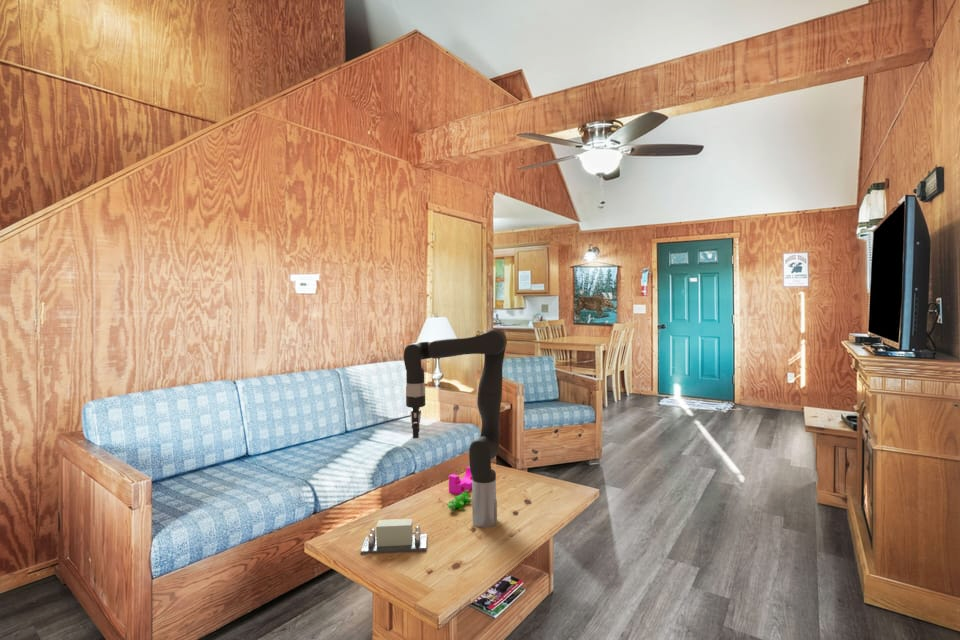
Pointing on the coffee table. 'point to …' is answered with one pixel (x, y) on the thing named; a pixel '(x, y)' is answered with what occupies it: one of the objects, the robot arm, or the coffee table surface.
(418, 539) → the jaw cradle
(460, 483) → the toy block
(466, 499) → the crocodile figurine
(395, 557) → the coffee table surface
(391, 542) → the block
